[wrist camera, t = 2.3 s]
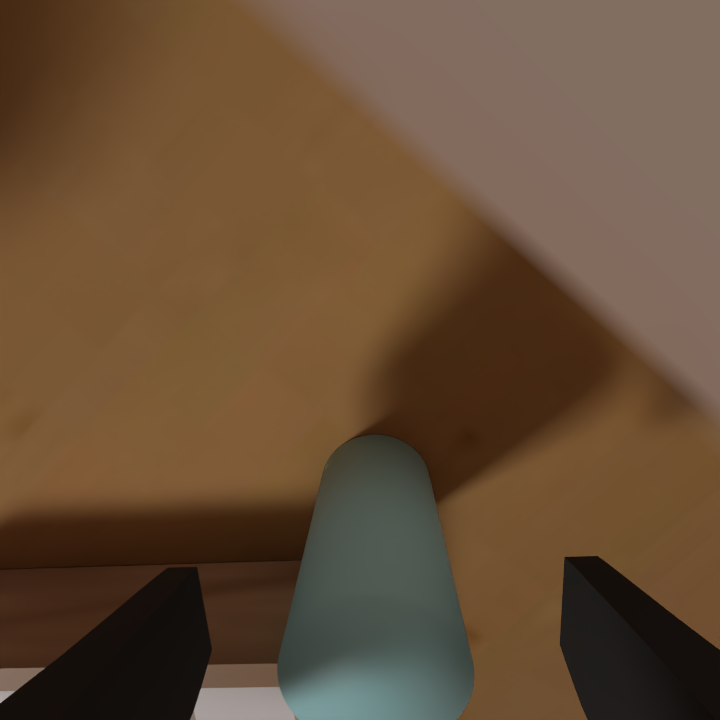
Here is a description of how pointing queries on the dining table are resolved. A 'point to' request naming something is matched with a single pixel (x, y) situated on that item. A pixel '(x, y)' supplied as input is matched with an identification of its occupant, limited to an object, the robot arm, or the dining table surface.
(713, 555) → the dining table surface
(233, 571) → the box
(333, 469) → the peg
